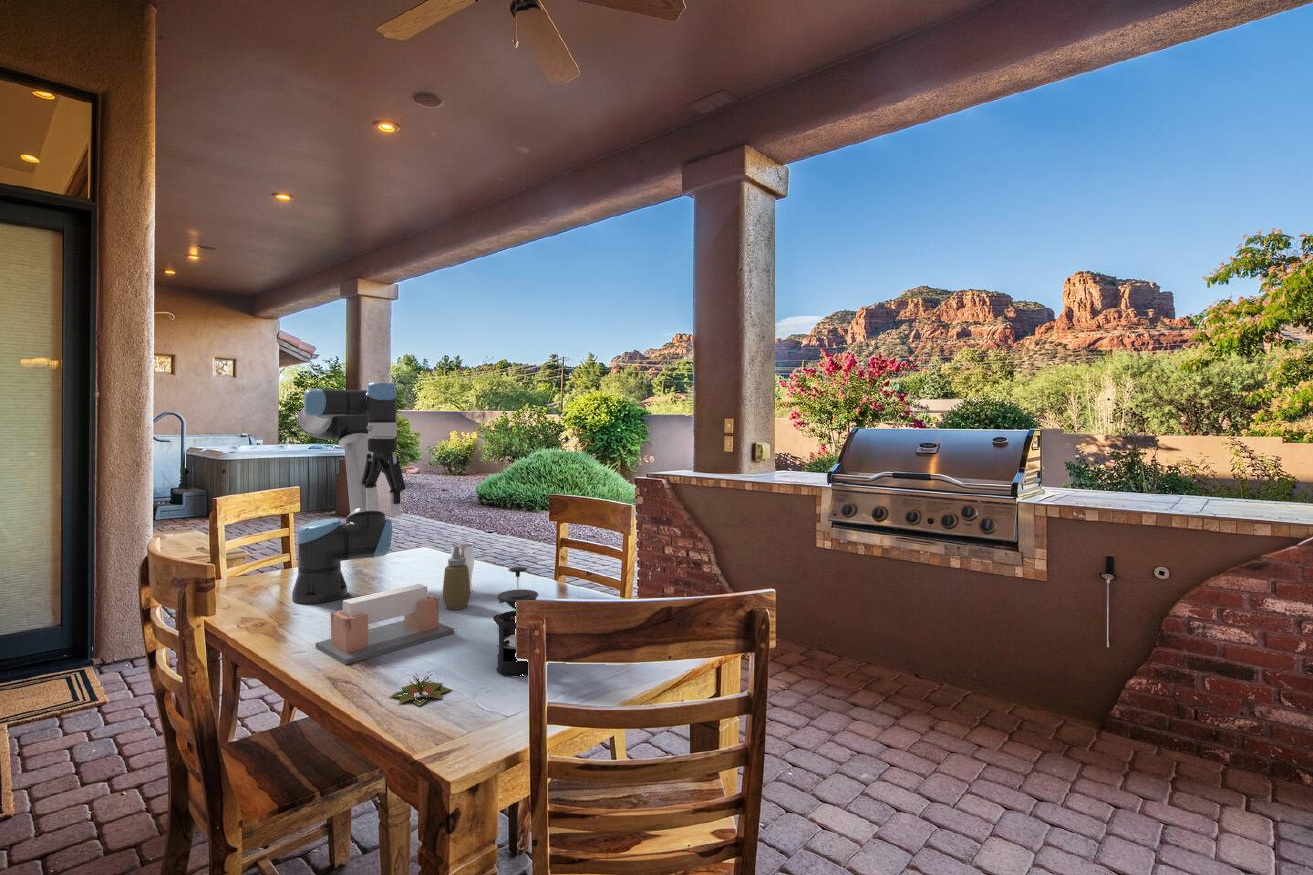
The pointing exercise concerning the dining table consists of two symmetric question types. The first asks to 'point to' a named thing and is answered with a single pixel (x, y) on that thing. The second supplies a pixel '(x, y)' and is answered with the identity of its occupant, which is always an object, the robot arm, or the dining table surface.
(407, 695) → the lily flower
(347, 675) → the dining table surface
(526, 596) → the french press
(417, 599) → the slat
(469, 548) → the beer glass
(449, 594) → the squeeze bottle
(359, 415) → the robot arm
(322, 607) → the dining table surface
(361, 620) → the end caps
